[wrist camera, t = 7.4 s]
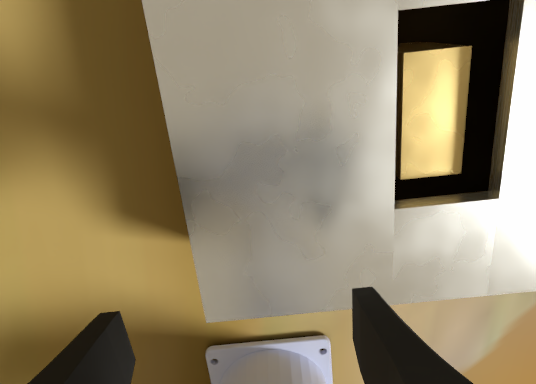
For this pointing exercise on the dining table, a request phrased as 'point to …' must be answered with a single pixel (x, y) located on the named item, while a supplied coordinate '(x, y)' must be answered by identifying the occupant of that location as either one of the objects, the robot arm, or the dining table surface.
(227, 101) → the cash box
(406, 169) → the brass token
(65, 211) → the dining table surface
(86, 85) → the dining table surface
